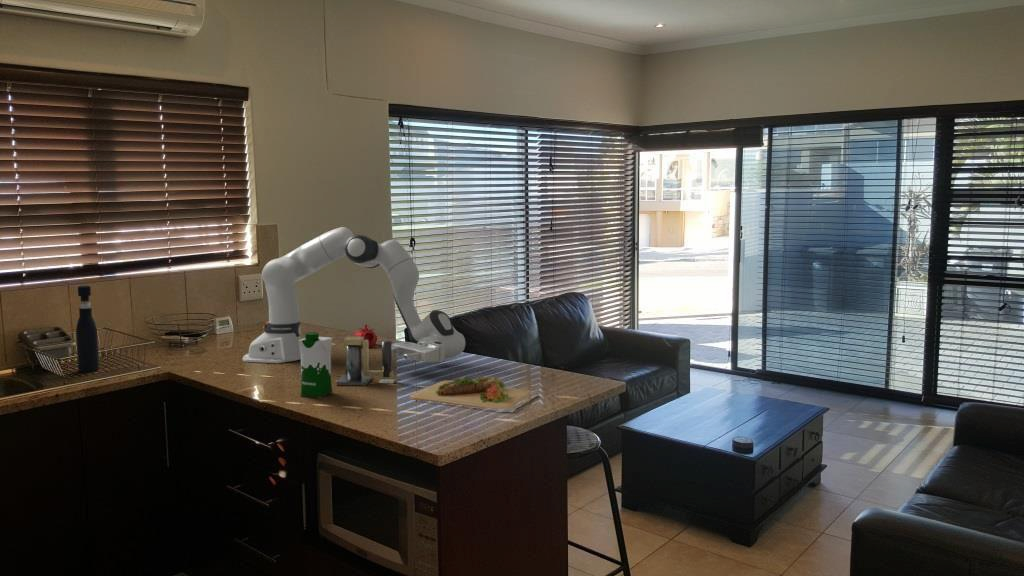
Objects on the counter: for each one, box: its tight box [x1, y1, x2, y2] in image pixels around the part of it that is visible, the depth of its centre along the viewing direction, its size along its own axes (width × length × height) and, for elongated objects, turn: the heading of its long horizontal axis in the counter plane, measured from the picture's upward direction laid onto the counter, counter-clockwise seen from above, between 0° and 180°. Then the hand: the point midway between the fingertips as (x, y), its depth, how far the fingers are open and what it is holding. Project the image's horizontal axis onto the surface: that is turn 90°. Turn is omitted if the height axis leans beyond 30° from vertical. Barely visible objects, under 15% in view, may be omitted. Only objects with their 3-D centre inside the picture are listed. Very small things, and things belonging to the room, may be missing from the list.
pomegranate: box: [353, 324, 378, 348], centre depth 313 cm, size 10×10×9 cm
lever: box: [343, 336, 394, 378], centre depth 253 cm, size 16×6×13 cm, turn 92°
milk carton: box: [299, 331, 334, 398], centre depth 236 cm, size 9×9×20 cm
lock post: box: [336, 345, 396, 386], centre depth 257 cm, size 18×18×13 cm
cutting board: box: [409, 375, 532, 409], centre depth 236 cm, size 35×23×8 cm
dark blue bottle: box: [75, 285, 100, 373], centre depth 263 cm, size 6×6×30 cm
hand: (397, 354), depth 257 cm, fingers open, 8 cm apart
